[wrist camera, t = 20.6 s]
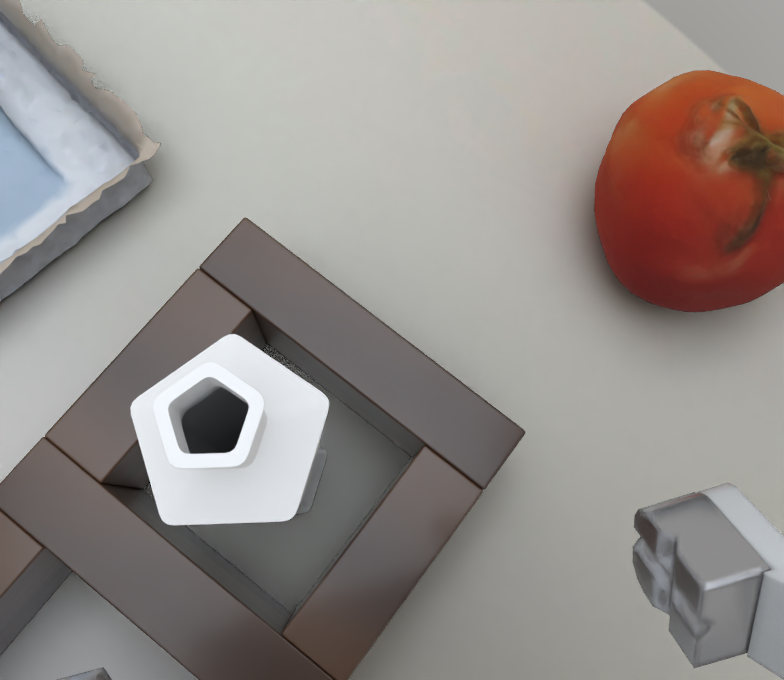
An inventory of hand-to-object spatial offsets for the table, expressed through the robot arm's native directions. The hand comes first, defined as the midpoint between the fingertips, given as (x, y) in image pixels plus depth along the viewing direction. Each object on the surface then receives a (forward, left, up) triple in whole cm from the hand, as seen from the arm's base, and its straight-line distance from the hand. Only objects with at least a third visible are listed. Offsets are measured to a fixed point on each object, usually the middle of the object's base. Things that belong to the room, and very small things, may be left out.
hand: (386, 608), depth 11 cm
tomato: (-17, -10, -18) cm, 26 cm away
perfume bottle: (+2, -4, -18) cm, 18 cm away
